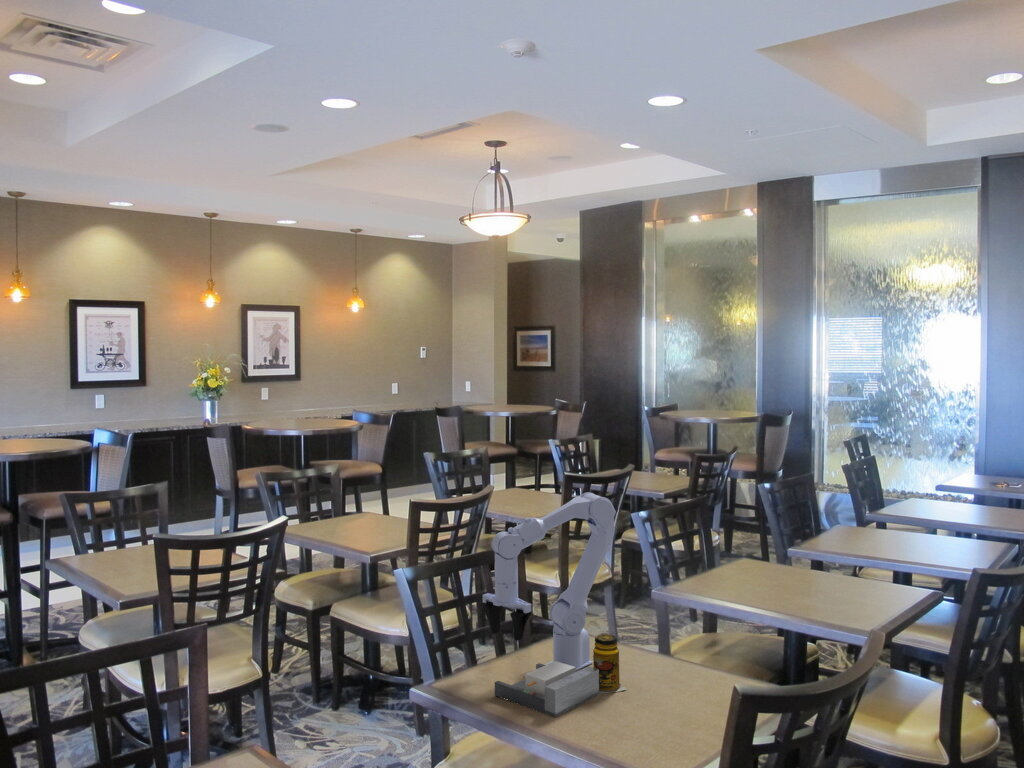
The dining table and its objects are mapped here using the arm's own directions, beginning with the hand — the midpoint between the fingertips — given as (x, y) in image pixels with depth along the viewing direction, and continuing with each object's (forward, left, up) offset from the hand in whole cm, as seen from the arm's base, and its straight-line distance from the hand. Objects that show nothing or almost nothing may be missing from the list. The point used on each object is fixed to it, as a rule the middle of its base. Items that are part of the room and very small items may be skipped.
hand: (506, 636), depth 206 cm
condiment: (-10, +23, -10) cm, 27 cm away
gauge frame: (+4, +16, -9) cm, 19 cm away
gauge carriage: (+5, +17, -8) cm, 20 cm away
